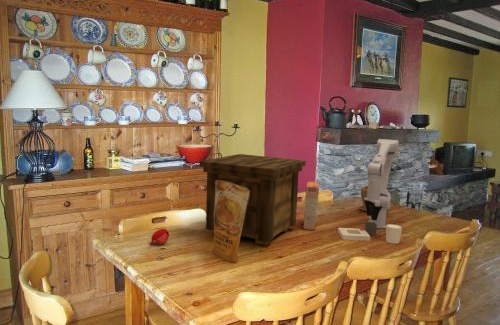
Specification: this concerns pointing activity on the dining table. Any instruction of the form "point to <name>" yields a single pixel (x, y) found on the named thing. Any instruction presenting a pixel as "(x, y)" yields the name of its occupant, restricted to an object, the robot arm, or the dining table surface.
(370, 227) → the plug
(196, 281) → the dining table surface
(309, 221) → the cracker box
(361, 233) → the socket plate
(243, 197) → the pancake mix bag
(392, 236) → the shot glass
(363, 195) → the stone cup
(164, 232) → the cap
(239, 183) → the crate
